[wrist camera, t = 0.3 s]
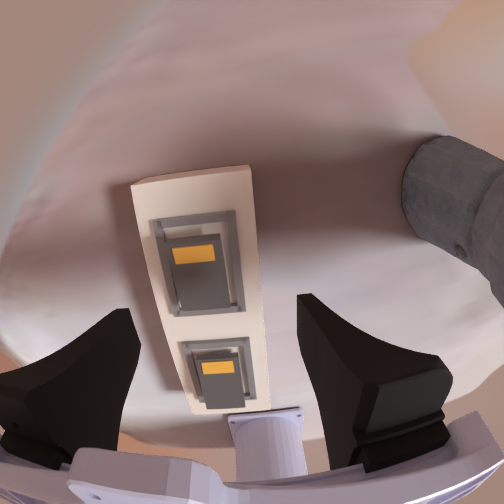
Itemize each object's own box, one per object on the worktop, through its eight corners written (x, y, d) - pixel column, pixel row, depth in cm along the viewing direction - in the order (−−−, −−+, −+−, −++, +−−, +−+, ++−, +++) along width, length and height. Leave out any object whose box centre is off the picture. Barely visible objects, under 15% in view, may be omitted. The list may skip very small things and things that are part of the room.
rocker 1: (230, 300, 19) (230, 308, 18) (184, 303, 19) (182, 312, 18) (220, 233, 16) (219, 240, 16) (166, 238, 16) (164, 246, 16)
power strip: (267, 385, 27) (271, 412, 24) (195, 390, 27) (192, 417, 24) (248, 164, 19) (251, 170, 16) (144, 177, 19) (128, 187, 16)
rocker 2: (245, 401, 22) (245, 408, 21) (207, 403, 22) (206, 410, 21) (238, 352, 21) (238, 358, 20) (196, 355, 20) (195, 360, 20)
